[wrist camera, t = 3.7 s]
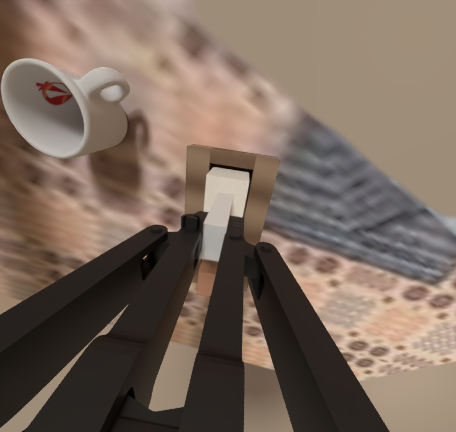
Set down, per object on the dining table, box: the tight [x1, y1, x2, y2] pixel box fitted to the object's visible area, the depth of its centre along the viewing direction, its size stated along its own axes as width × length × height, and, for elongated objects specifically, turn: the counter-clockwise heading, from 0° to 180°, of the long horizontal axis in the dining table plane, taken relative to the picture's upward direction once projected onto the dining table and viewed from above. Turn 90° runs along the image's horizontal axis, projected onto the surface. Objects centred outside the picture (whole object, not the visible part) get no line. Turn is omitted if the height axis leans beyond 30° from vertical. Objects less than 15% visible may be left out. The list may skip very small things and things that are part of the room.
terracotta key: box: [197, 260, 218, 297], centre depth 27 cm, size 4×4×4 cm
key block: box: [185, 144, 280, 291], centre depth 27 cm, size 21×11×3 cm, turn 172°
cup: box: [1, 58, 130, 159], centre depth 19 cm, size 11×8×8 cm
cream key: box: [204, 167, 249, 217], centre depth 21 cm, size 4×4×4 cm
